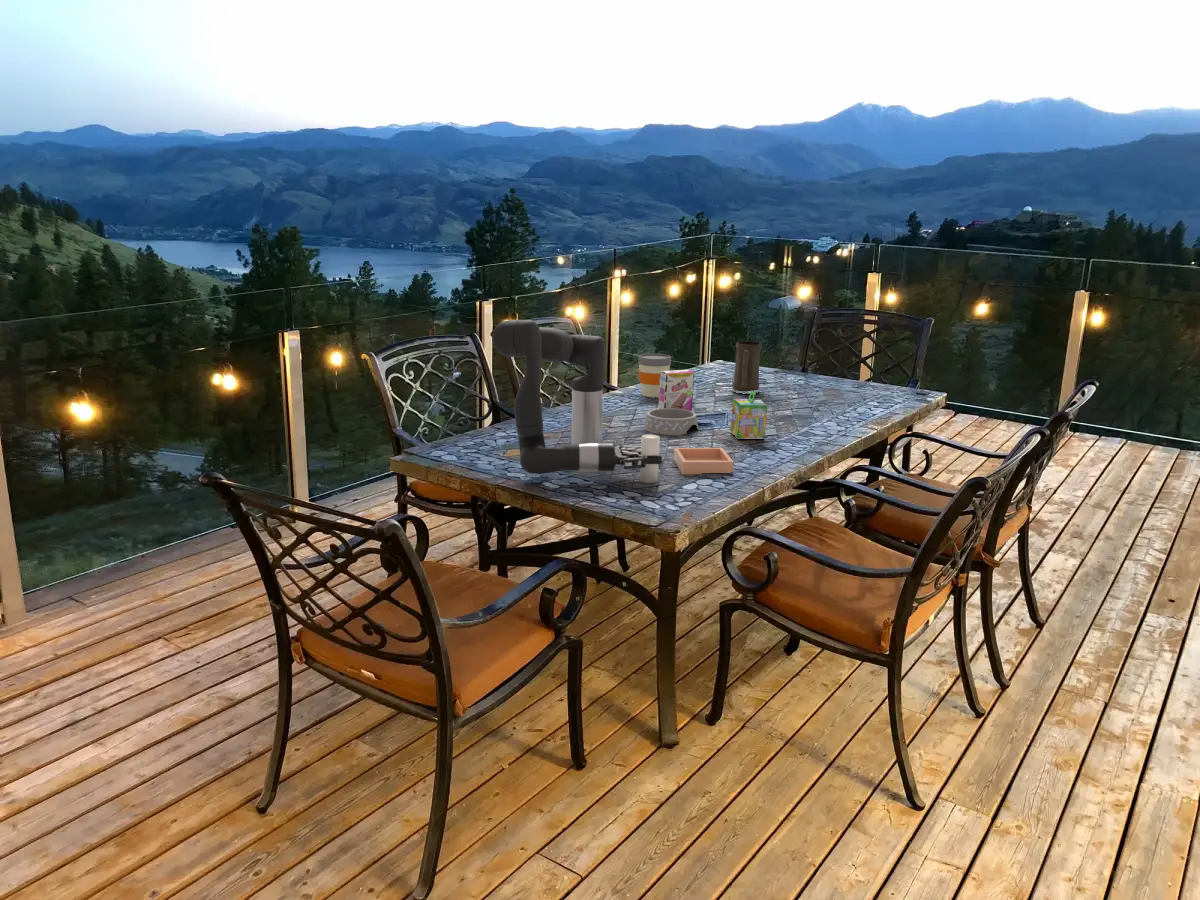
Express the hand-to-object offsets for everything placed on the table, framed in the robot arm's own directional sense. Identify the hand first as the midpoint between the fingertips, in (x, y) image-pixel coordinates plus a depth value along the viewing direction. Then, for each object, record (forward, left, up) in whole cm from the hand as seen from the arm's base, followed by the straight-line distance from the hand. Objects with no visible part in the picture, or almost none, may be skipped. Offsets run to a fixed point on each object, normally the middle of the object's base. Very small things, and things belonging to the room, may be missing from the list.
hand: (659, 456), depth 234 cm
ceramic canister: (0, -3, -6) cm, 7 cm away
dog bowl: (-56, +13, -7) cm, 57 cm away
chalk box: (-44, +35, -7) cm, 57 cm away
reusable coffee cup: (-106, +14, -7) cm, 107 cm away
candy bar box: (-69, +16, -7) cm, 71 cm away
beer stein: (-109, +51, -7) cm, 121 cm away
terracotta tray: (-12, +14, -6) cm, 20 cm away
